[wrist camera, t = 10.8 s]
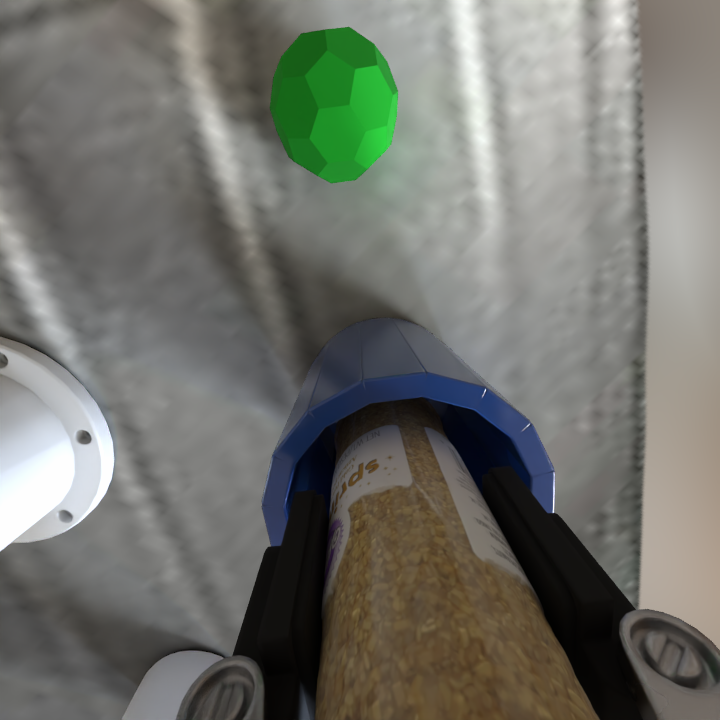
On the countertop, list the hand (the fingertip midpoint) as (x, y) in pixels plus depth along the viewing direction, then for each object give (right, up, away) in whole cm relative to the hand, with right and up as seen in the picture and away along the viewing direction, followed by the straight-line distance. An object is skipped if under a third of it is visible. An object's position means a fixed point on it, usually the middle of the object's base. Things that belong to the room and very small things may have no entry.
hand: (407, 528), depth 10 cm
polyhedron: (-2, +15, +7) cm, 17 cm away
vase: (0, +3, +10) cm, 11 cm away
